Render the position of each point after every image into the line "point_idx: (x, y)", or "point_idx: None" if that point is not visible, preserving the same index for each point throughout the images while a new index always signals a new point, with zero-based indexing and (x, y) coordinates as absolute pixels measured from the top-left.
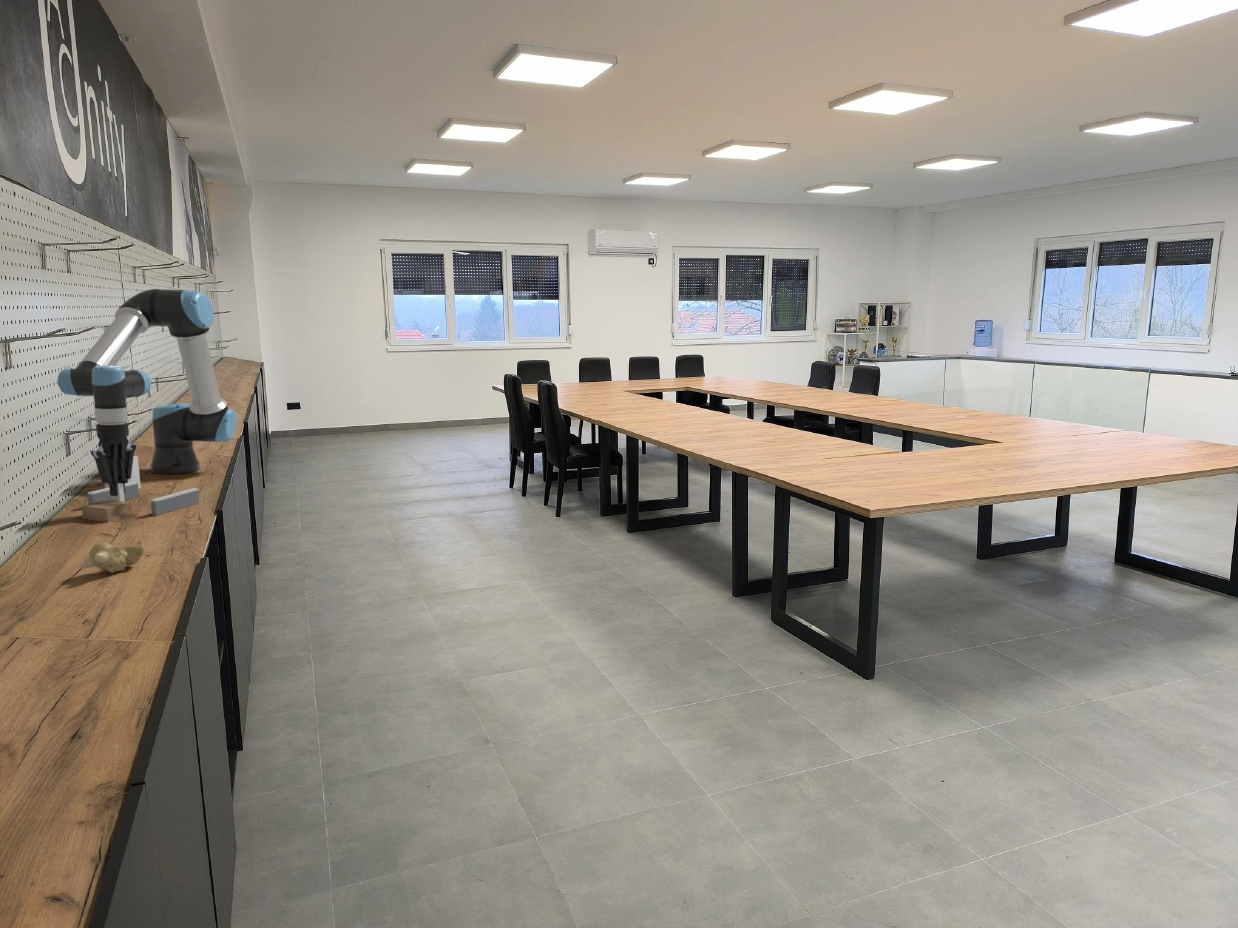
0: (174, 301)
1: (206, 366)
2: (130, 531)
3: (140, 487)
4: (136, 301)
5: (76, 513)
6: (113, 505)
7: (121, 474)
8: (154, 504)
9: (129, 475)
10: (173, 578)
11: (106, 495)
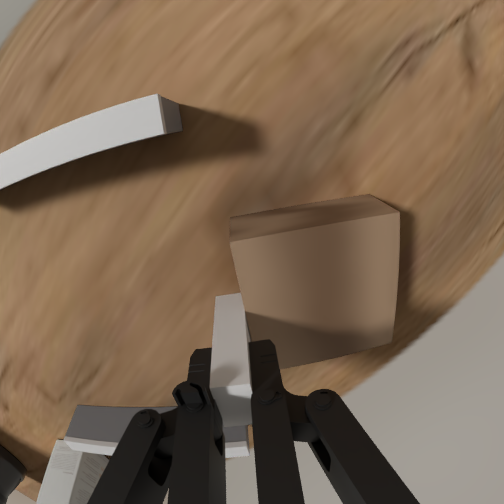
0: None
1: None
2: (411, 6)
3: (56, 440)
4: None
5: (314, 386)
6: (332, 253)
7: (209, 450)
8: (165, 106)
9: (140, 431)
10: None
11: None
